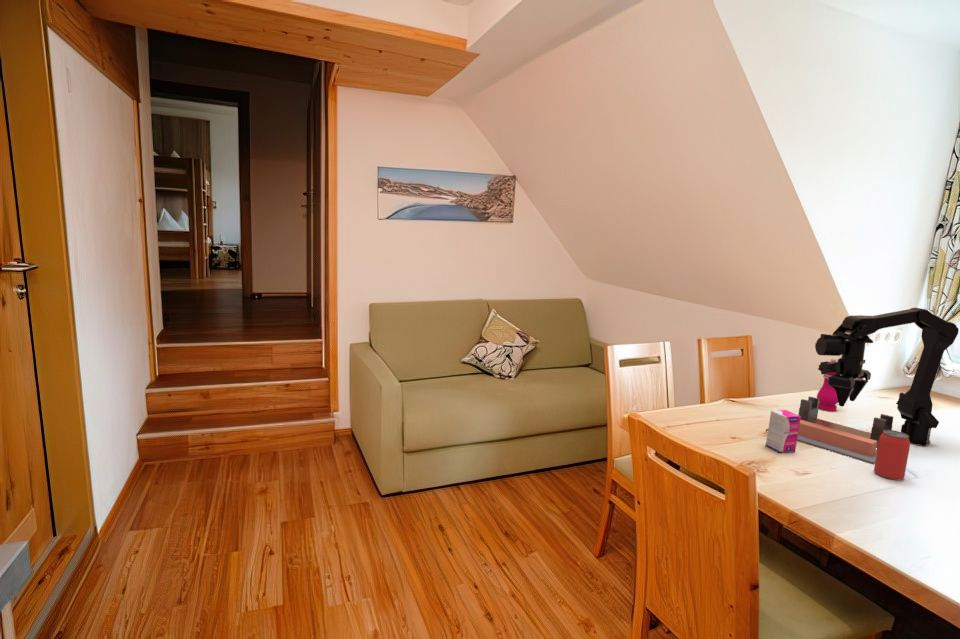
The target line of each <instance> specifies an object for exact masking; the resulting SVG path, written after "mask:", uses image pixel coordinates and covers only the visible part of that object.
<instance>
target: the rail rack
mask: <svg viewBox="0 0 960 639" xmlns="http://www.w3.org/2000/svg"><path fill="white" fill-rule="evenodd" d="M807 398H808V399H804V398H802V399H801V400H800V403H799V404H800V405H799V407H798V414H797V415H799V416H801V419H800V420H804V421H807V422H811V423H815V424H818V425H822V426H825V427H829V428H833V429H836V430H840V431H843V432H847V433H850V434H854V435H858V436H861V437H865V438H868V439H872V440H876V441H877V447H876V448H878V442H879V438H880V436H881V434H882V433H883V431H884V430H893V423H894V416H892V415H887V414H883V413H881V414H880V416H879V417H873V422H872V427H871V431H870V432H868V431H864V430H861V429H858V428H853V427H850V426H847V425H844V424H843V425H842V424H839V423H835V422H831V421H827V420H823V419H820V418H818V417H819V416H818V415H819V410H820V409H819V407H818V406H819V398H817V397H813V396H808V397H807Z"/></svg>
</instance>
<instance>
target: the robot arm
mask: <svg viewBox="0 0 960 639" xmlns="http://www.w3.org/2000/svg"><path fill="white" fill-rule="evenodd" d="M909 324H915V326H917V327H918V328H920V329H921V335H920V337H921V340H922V343H923V349H922V351H921V354H920V357H919V361H918V364H917V367H916V370H915V374H914V377H913V380H912V382H911V386H910V388H909V390H907V391H906V392H905V393H904V392H899V395H898V400H897V401H896V403H895V404H896V405H897V408H896V409H897V410H898V412H899V413H900V418H901V419H902V420H904V423H903V424H901V428H900V429H901V430H900V432H902V433H905V434H907V435H908V436H909V441H910V444H914V445H917V444H919V445H918V446H921V445H922V447H926V446H928V445H929V444H930V443H931V440H930V437H931V433H932V429H937V427H938V425H939V424H940V422H939V420H938V419H937V418H936V417H935V416H934V415H933V414H932V412H933V405H934V404H933V401H932V397H931V392H932V389H933V386H934V383H935V379H936V376H937V374H938V371H939V368H940V365H941V361H942V358H943V355H944V352H945V351H946V350H947V349H948V348H949V347H950V346H952V345H953V344H954V342H955V340H956V339H957V337H958V335H959V327H958V326H957V324H955V323H954V322H951V321H947V320H945V319H943V318H941V317H939V316H937V315H936V314H933V313H932V312H931V311H929V310H927V309H925V308H922V307H921V308H920V307H911V308H908V309H904V310H898V311H892V312H887V313H882V314H875V315H863V314H862V315H848V316H845V318H844V319H843V320H842V322H841V324H839V326H838V327H837V328H836V329H835V330H834V331H833V332H832V334H827V333H821V334H820V337H819V338H818V339H817V340H816V342H815V344H814V347H815V352H816V353H817V355H819V356H837V357H839V358H838V359H837V361H836V362H831V361H826V360H825V361H821V362H820V364H818V368H817V370H818V371H820V374H821V375H824V374H826V373H833V372H836V374H835V375H833V376H831V377H829V378H828V384H829V385H830V386H831V387H833V388H834V389H835V390H836V394H837V398H838V403H837V404H838V406H839V407H844V406H845V404H846V403H847V401H848V399H849V401H851V402H854V401H855V400H856V399H857V397H858V396H859V395H860V393H861V392H862V391H863V389H864V388H865V386H866V385H867V384H868V383H869V381H870V380H871V378H872V373H871V372H870V371H869V370H868V369H863V367H864V364H865V363H866V359H864V358H865V350H866V344H873V343H874V340H873V339H871V338H870V336H869V335H872V334H875V333H876V332H877V331H879V330H883V329H887V328H892V327H898V326H902V325H903V326H904V325H909ZM829 362H830V363H829ZM927 444H928V445H927Z"/></svg>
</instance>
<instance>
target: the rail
mask: <svg viewBox="0 0 960 639" xmlns="http://www.w3.org/2000/svg"><path fill="white" fill-rule="evenodd" d="M798 435H800V436H803V437H807V438H810V439H813V440H817V441H820V442H823V443H826V444H830V445H833V446H836V447H840V448H843V449H846V450H850V451H853V452H856V453H860V454H863V455H866V456H870V457H871V456H873V455H874V454H875V453H876V450H877V449H876V447H877V441H876V440H872V439H868V438H865V437H861V436H858V435H854V434H850V433H847V432H843V431H840V430H836V429H833V428H829V427H825V426H822V425H818V424H815V423H811V422H807V421H804V420H800V425H799V431H798Z"/></svg>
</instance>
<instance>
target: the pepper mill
mask: <svg viewBox="0 0 960 639" xmlns="http://www.w3.org/2000/svg"><path fill="white" fill-rule="evenodd" d="M828 362H829V363H830V362H837V358H836V357H831V358H830V361H828ZM835 374H836V372H833V373H826V374H823V375H822V376H823V378H824V379H823V384H822V386H821V388H820V389H819V390H818V391H817V394H816V398H819V406H818V407H819V409H818V410H821V411H825V412H836V411H837V408H838V406H837V404H839V403H838V398H837V394H836V390H835V389H834V388H833V387H831V386H830V385H829V384H828V378H829V377H831V376H833V375H835Z"/></svg>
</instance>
